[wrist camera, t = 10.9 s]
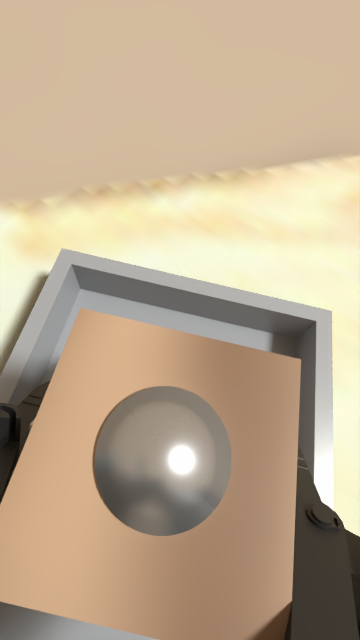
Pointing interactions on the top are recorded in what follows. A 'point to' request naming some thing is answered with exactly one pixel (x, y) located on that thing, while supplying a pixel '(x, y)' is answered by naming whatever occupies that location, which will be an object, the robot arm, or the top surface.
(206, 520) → the bored block
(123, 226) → the top surface
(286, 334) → the tray
